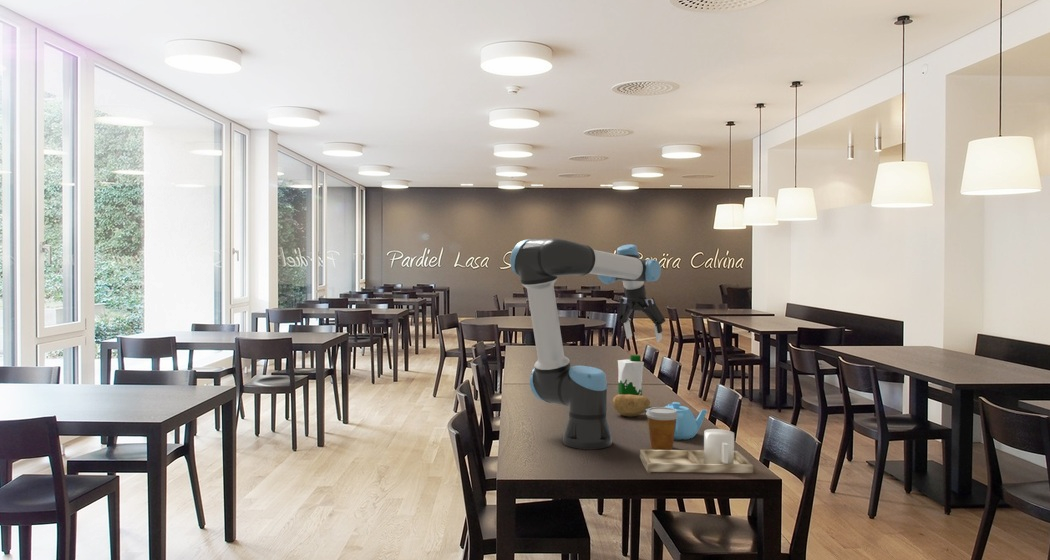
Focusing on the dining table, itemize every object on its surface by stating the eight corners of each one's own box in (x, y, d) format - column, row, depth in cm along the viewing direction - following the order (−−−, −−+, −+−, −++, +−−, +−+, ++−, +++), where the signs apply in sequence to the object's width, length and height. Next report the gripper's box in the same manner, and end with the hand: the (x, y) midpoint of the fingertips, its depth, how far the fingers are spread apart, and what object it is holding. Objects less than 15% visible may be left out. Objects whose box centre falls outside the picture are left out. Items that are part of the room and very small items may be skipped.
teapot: (642, 434, 220) (642, 401, 220) (669, 427, 231) (669, 396, 230) (681, 444, 209) (681, 409, 209) (708, 435, 219) (708, 403, 219)
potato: (652, 419, 242) (652, 397, 242) (614, 418, 242) (614, 396, 242) (646, 413, 252) (647, 391, 252) (609, 412, 252) (610, 391, 252)
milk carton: (645, 407, 261) (646, 356, 261) (624, 409, 259) (625, 357, 258) (635, 403, 270) (635, 353, 269) (614, 404, 267) (615, 354, 266)
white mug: (710, 472, 179) (711, 438, 178) (700, 460, 189) (701, 428, 189) (740, 472, 178) (741, 439, 178) (729, 460, 189) (729, 429, 189)
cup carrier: (647, 473, 179) (647, 464, 179) (639, 458, 193) (639, 449, 193) (753, 474, 178) (753, 465, 178) (737, 459, 192) (737, 450, 192)
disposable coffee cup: (673, 445, 207) (673, 406, 207) (681, 454, 198) (681, 413, 197) (642, 445, 207) (643, 406, 206) (649, 454, 197) (649, 413, 197)
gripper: (668, 283, 240) (678, 338, 245) (613, 281, 258) (623, 332, 263) (657, 290, 235) (667, 346, 240) (601, 288, 253) (612, 340, 258)
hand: (644, 339), depth 252 cm, fingers open, 13 cm apart
